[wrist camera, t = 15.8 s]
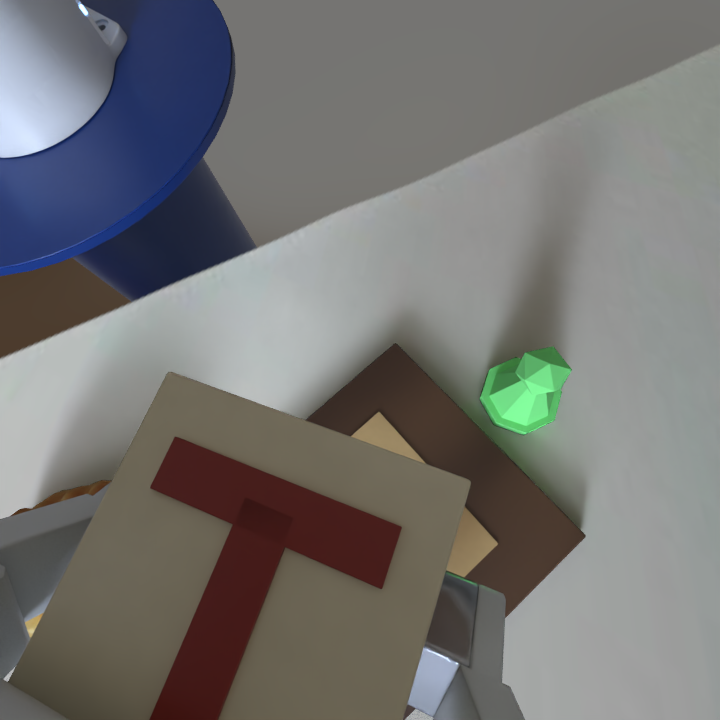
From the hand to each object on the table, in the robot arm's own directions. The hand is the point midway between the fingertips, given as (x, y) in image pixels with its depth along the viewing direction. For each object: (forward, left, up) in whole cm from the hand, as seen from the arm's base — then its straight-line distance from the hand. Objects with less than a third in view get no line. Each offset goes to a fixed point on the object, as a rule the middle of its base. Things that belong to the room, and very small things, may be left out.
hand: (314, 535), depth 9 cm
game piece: (0, +11, -15) cm, 19 cm away
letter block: (0, -1, -4) cm, 4 cm away
